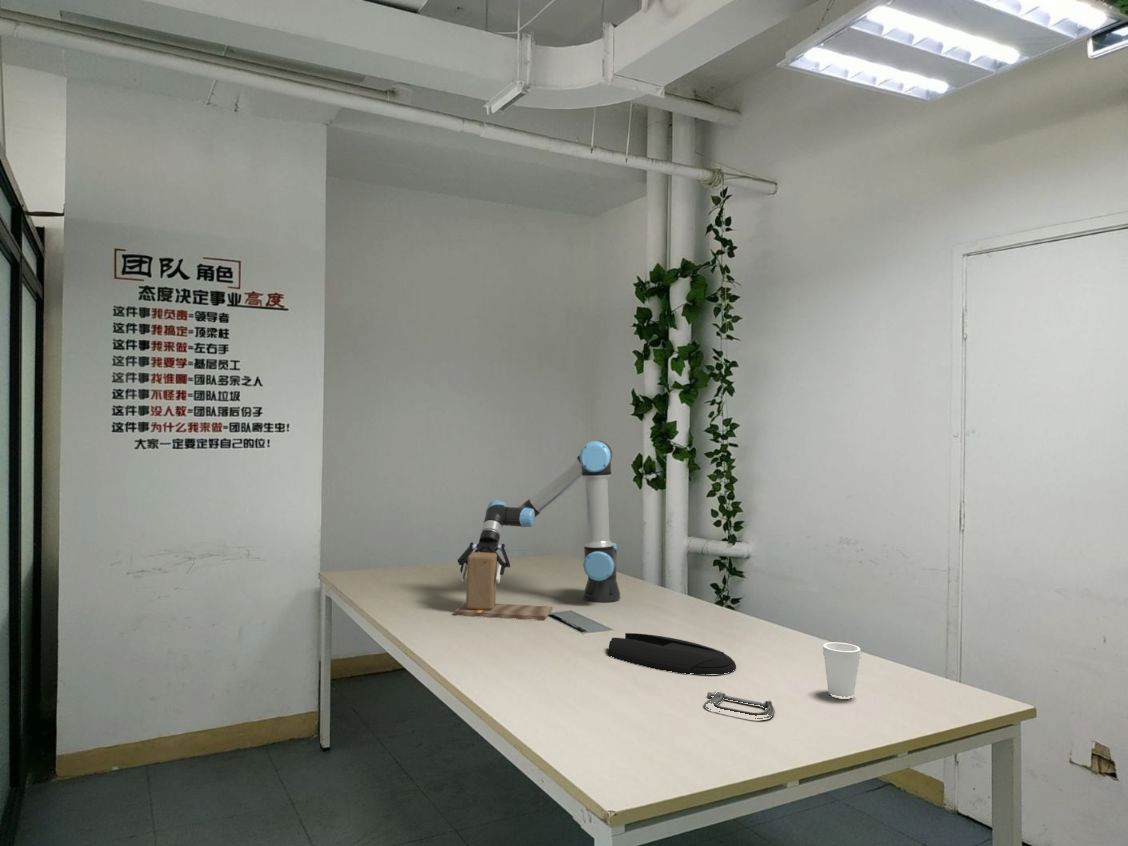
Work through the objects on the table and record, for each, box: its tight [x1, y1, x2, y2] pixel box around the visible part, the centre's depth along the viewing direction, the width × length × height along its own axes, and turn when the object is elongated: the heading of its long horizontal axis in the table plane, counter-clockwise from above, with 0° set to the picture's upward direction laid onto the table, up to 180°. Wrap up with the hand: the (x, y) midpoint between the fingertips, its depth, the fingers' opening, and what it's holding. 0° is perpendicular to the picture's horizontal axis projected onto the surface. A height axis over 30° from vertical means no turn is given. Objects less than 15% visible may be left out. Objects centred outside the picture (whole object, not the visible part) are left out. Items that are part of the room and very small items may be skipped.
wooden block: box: [465, 551, 498, 610], centre depth 306 cm, size 10×10×20 cm
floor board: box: [453, 602, 554, 621], centre depth 304 cm, size 34×16×2 cm, turn 81°
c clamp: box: [703, 690, 776, 719], centre depth 207 cm, size 20×17×3 cm
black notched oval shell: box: [607, 632, 737, 676], centre depth 248 cm, size 25×41×5 cm, turn 51°
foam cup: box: [822, 641, 861, 697], centre depth 217 cm, size 10×9×13 cm
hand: (479, 580), depth 303 cm, fingers open, 13 cm apart
